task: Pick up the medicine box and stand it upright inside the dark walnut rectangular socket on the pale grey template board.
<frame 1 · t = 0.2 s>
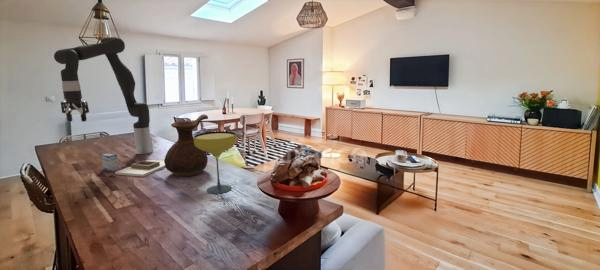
hand: (77, 121, 168), 28 cm above the counter, tool pointing down, fingers open, 8 cm apart
template board: (146, 168, 179), on the counter
medicine box: (111, 170, 179), on the counter
jug: (188, 173, 170), on the counter
cocktail glass: (219, 189, 145), on the counter
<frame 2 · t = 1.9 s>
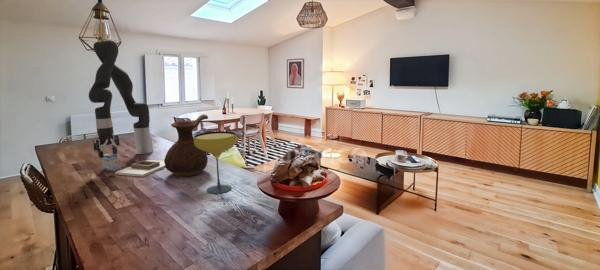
hand: (108, 155, 177), 8 cm above the counter, tool pointing down, fingers open, 8 cm apart
nothing on the counter moved.
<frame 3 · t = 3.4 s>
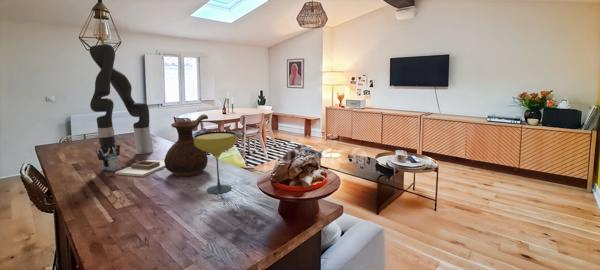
hand: (110, 165, 178), 2 cm above the counter, tool pointing down, fingers closed on medicine box, 5 cm apart
medicine box: (111, 170, 179), on the counter, touching gripper
everything else where it was.
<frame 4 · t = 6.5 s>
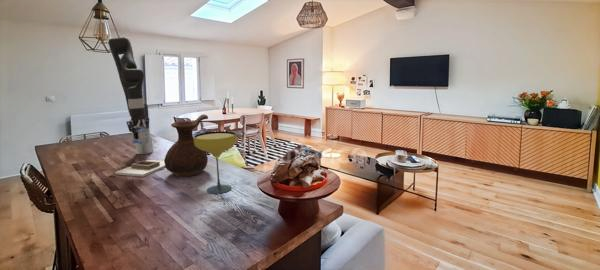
hand: (140, 138, 175), 17 cm above the counter, tool pointing down, fingers closed on medicine box, 5 cm apart
medicine box: (141, 142, 176), point 15 cm above the counter, touching gripper
everything else where it was.
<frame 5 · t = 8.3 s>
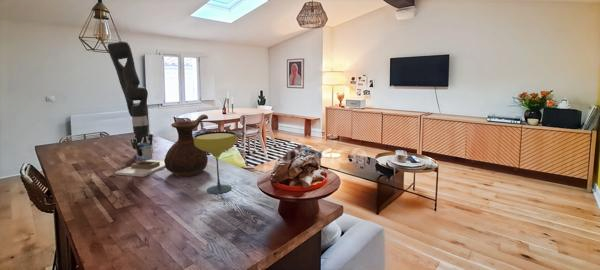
hand: (144, 154, 177), 8 cm above the counter, tool pointing down, fingers closed on medicine box, 5 cm apart
medicine box: (144, 159, 178), point 5 cm above the counter, touching gripper
everything else where it was.
when the fingers open (5 cm above the counter, at t = 9.8 s): medicine box stays where it is, resting on template board.
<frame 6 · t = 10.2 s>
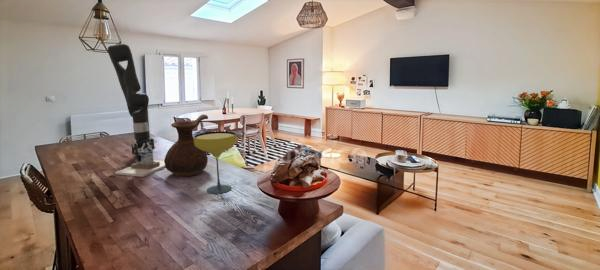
hand: (144, 159, 178), 5 cm above the counter, tool pointing down, fingers open, 8 cm apart
medicine box: (146, 166, 179), point 1 cm above the counter, touching template board
everything else where it was.
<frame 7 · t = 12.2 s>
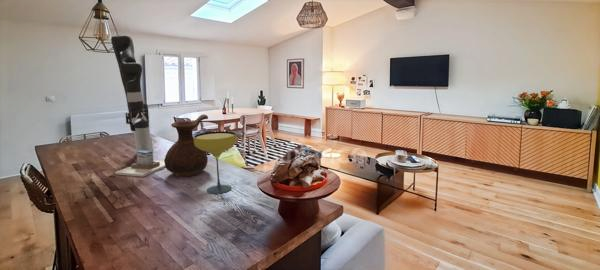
hand: (139, 129, 179), 21 cm above the counter, tool pointing down, fingers open, 8 cm apart
nothing on the counter moved.
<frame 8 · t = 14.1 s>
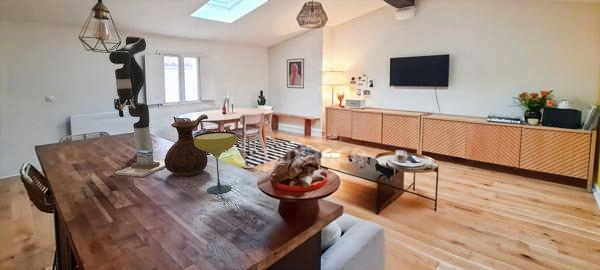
hand: (127, 115, 186), 28 cm above the counter, tool pointing down, fingers open, 8 cm apart
nothing on the counter moved.
at the end: medicine box 0.3 cm off-centre on the template board, point 1.0 cm above the template board's base; medicine box tilted 0°; the gripper is holding nothing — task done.
